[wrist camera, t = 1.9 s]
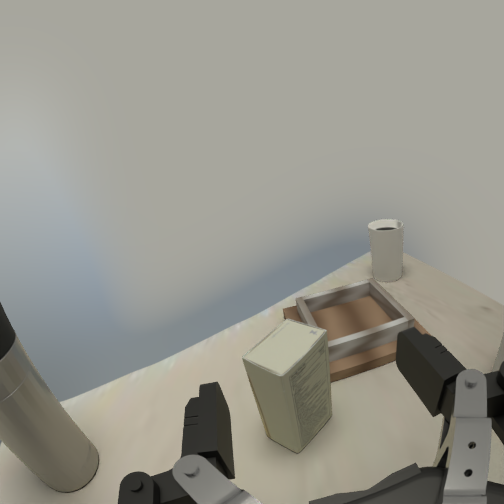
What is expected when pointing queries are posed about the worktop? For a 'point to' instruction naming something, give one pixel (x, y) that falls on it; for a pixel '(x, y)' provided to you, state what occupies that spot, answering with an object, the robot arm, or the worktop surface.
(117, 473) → the worktop surface
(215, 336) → the worktop surface
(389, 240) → the white coffee cup
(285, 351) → the skincare box
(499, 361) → the toilet paper roll
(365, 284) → the socket board
